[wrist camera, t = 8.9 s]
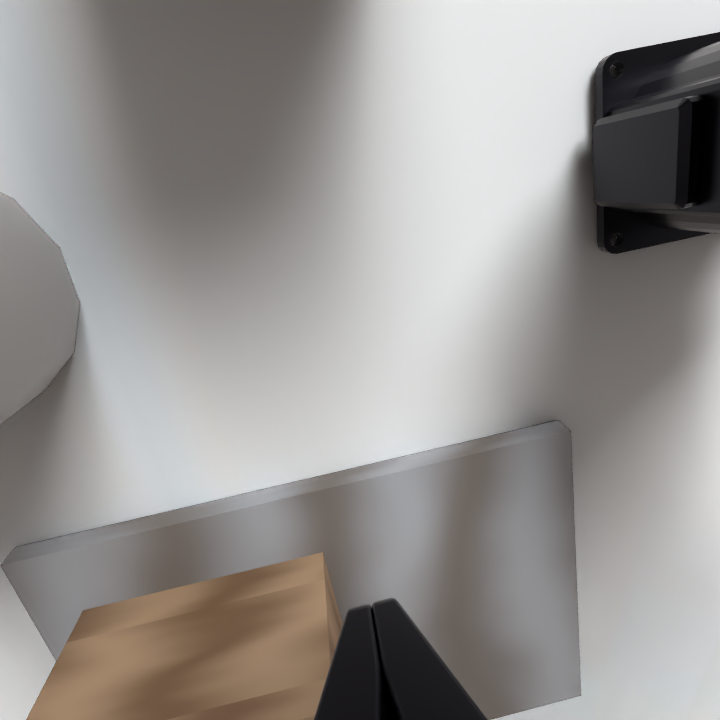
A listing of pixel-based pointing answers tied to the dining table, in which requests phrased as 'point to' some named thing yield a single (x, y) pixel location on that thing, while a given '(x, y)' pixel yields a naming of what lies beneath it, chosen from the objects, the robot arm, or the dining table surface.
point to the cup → (31, 309)
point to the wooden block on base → (317, 587)
